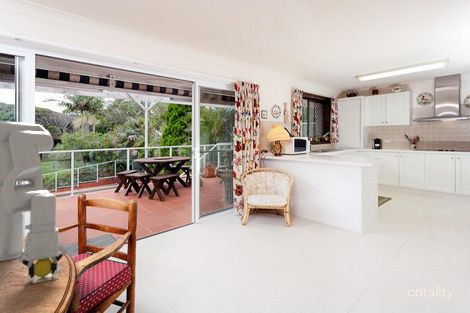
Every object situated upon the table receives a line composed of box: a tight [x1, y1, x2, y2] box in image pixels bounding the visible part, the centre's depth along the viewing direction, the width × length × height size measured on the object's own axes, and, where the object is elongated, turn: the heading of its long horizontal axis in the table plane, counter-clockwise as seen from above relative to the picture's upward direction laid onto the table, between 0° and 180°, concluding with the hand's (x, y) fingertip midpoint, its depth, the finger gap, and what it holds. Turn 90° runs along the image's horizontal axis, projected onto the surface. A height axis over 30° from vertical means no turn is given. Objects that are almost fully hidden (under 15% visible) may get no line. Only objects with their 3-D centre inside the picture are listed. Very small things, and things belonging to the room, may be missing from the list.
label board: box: [23, 262, 64, 287], centre depth 95 cm, size 14×10×1 cm
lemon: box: [34, 258, 53, 278], centre depth 92 cm, size 6×6×8 cm
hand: (43, 273), depth 92 cm, fingers closed on lemon, 5 cm apart
